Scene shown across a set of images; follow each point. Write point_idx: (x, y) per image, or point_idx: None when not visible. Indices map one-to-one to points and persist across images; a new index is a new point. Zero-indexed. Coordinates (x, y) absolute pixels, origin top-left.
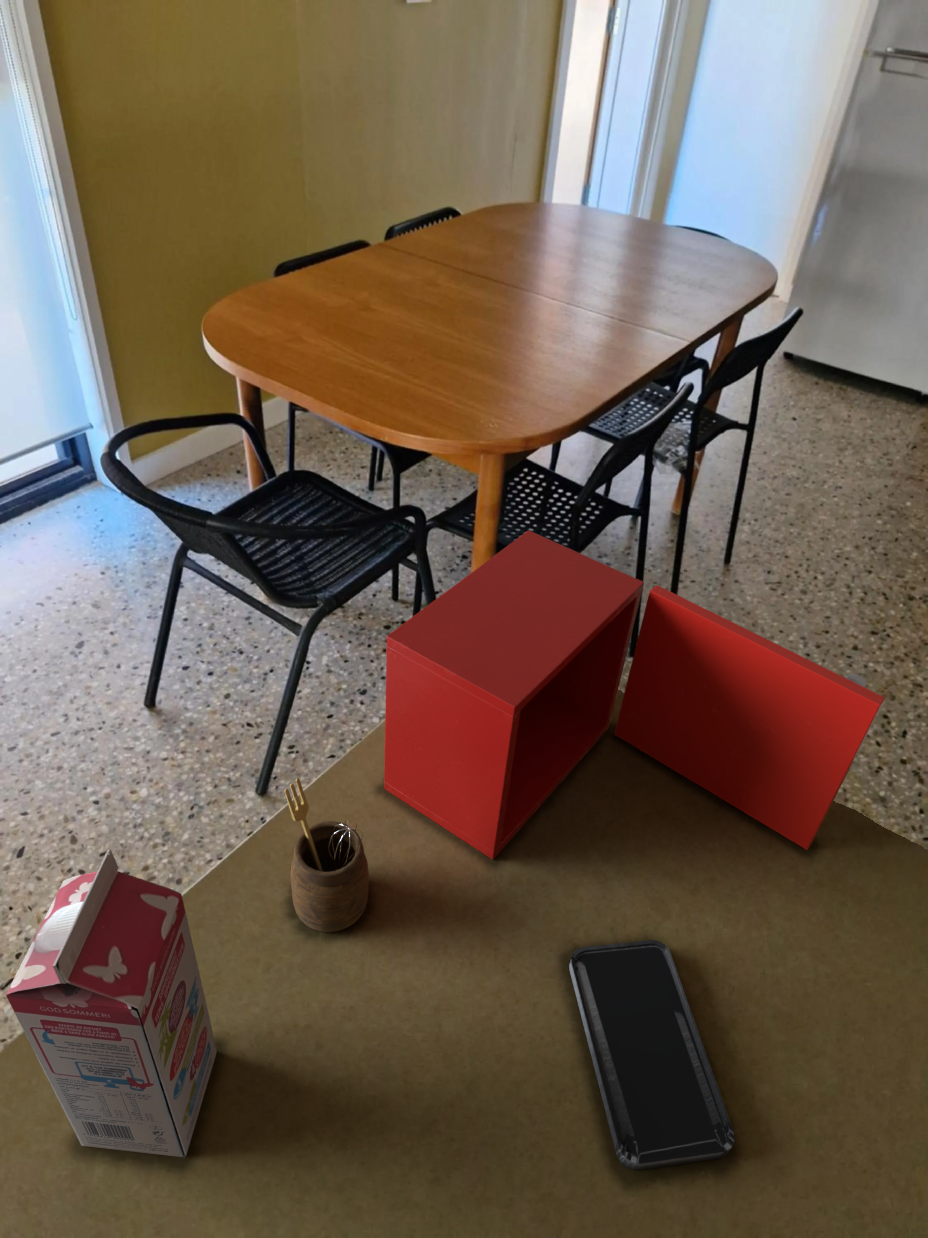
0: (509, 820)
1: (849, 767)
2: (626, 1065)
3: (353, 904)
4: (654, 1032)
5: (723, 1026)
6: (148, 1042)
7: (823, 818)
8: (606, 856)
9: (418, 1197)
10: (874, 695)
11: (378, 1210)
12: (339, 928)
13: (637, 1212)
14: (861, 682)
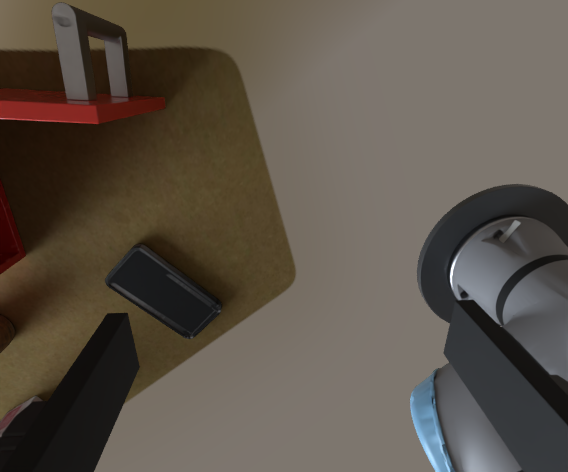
0: (5, 233)
1: (134, 110)
2: (164, 309)
3: (2, 344)
4: (164, 289)
5: (190, 257)
6: (14, 408)
7: (155, 107)
8: (71, 207)
9: (138, 382)
10: (85, 111)
11: (131, 392)
12: (12, 339)
13: (204, 341)
14: (69, 15)
